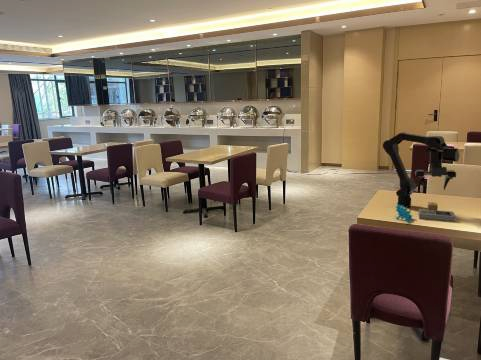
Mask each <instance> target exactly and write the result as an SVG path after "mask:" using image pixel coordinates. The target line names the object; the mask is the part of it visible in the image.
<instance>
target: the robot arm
mask: <svg viewBox="0 0 481 360" xmlns="http://www.w3.org/2000/svg"><path fill="white" fill-rule="evenodd" d="M403 141H408V142H412V143H418V144H423V145H425V146H427V147H428V148H427V149H426V150H425V152H429V168H428V169H429V170H428V171H425V170H424V169H416V170H415V172H414V174H415V177H418V179H420V180H421V182H422V183H421V184H422V186H423V189H424V190H426V180H425V178H426V177H425V176H431V177H435V178H436V177H439V178H441V177H443V176H444V180H443V181H444V183H443V191H445V190H446V188H447V185H448V183H449V181H451V180H453V179H454V178H457V172H456V171H455V170H453V169H449V170H448V168H447V167H446V166H442V165H443V161H444V162H455V163H458V162H459V159H460V155H461V154H460V152H459V148H458V147H456V148H455V147H454V148H453V147H451V148H450V147H449V146H448V145H447V143H446V141H445V138H444V137H443V136H441V135H427V136H426V135H419V134H416V133H407V132H405V131H402V132H399V133H397V134H396V135H395V136H393V137H392V138H390V139H387V140H385V141H384V142H382V149H383V150H384V151H385V152H386V154H387V155H388V156H389V157H390V160H391V162H392V164H393V167H394V170H395V171H396V174H397V177H398V178H399V189H398V190H397V191H396V192H395V194H396V196H397V203H396V204H397V206H398V205H403V206H404V207H403V208H411V205H412V197H411V195H413V193H414V192H415V191H416V189H417V184H416V182H415V178H413V177H412V178H410V176H409V174H408V173H407V171H406V168H405V165H404V163H403V160H402V158H401V155H400V154H399V151H400V149H399V145H400V144H401V143H402V142H403ZM397 206H396V207H397Z"/></svg>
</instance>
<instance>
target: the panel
mask: <svg viewBox="0 0 481 360" xmlns="http://www.w3.org/2000/svg"><path fill="white" fill-rule="evenodd" d="M418 219H420V220H428V221H429V220H431V221H441V222H442V221H444V222H454V223H456V219H457V218H456V215H455V212H454V211H450V210H439V209H437V210H427V209H423V208H422V209H421V208H418Z"/></svg>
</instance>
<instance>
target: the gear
mask: <svg viewBox="0 0 481 360" xmlns="http://www.w3.org/2000/svg"><path fill="white" fill-rule="evenodd" d="M395 211H396V212H398V213H397V215H398V216H396V217H395V218H396V220H399V219H402V220H403V219H404V221H405V222H407V223H411V222H412V221H413V215H412V214H411V213H412V211H411V210H408V207H404V206H403V205H398V206H395Z"/></svg>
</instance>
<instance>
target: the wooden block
mask: <svg viewBox="0 0 481 360" xmlns="http://www.w3.org/2000/svg"><path fill="white" fill-rule="evenodd" d="M426 206H427V207H426V210H439V209H438V208H439V207H438V202H436V201H435V202H433V201H432V202H431V201H427V205H426Z"/></svg>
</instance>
